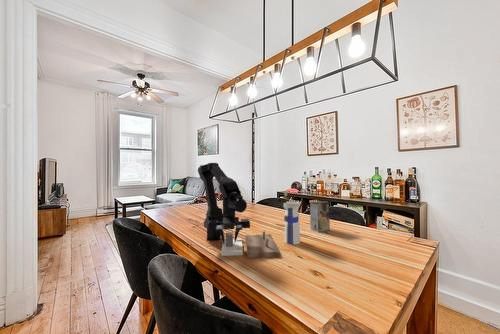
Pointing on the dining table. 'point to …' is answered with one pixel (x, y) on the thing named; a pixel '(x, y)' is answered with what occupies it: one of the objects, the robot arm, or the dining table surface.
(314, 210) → the coffee box
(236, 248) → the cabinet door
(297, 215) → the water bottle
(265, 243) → the peg board
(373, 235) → the dining table surface
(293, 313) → the dining table surface
